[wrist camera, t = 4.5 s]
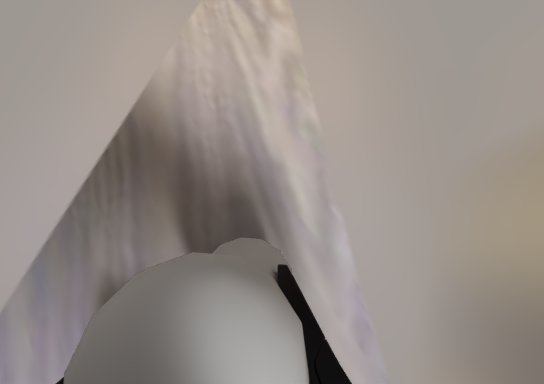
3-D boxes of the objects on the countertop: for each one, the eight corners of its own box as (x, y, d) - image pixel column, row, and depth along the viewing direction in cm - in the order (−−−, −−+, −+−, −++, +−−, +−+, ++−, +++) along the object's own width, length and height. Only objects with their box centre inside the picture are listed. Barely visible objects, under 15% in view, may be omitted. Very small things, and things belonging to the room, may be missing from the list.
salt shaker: (191, 296, 16) (-143, 494, 3) (236, 224, 17) (138, 150, 4) (263, 345, 15) (228, 879, 2) (305, 267, 16) (434, 332, 4)
